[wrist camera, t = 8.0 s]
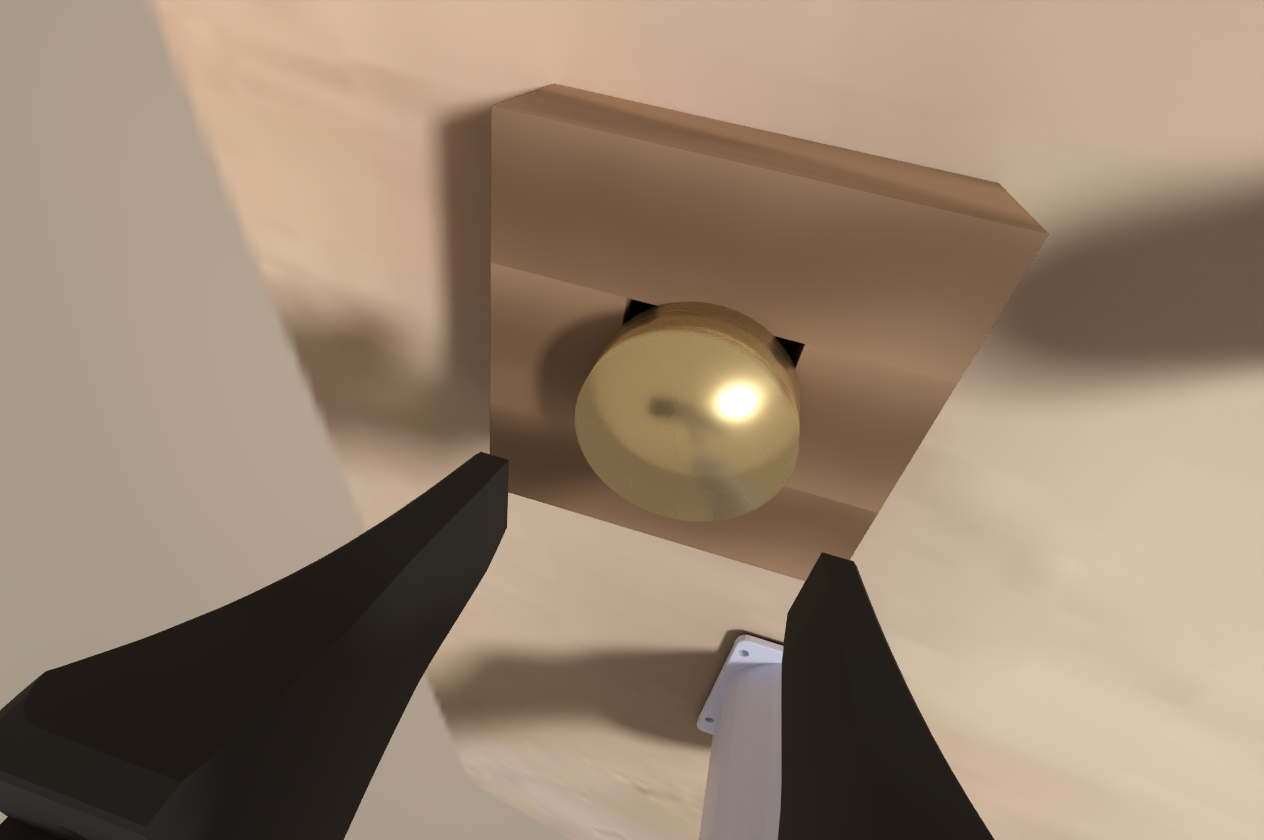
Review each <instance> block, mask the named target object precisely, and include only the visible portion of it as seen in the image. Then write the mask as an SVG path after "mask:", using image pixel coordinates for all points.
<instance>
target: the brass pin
mask: <svg viewBox="0 0 1264 840" xmlns="http://www.w3.org/2000/svg"><path fill="white" fill-rule="evenodd" d="M799 427H800V385H799V379H798V375H797V372H796V369H795V366H794V364H793V362H792V360H791V358H790V356H789V354H788V353H787V351H786V350H785V348H784V347H783V345H782V344H781V343H780V342H779V341H778V340H777V339H776V338H775V336H774V335H773V334H772V333H770V332H769V331H768V330H767V329H766V328H765V327H763V326H762V325H761V324H759V323H758V322H756V321H755V320H753V319H752V318H750V317H748V316H746V315H744V314H742V313H740V312H738V311H735V310H733V309H730V308H727V307H724V306H720V305H716V304H711V303H704V302H675V303H669V304H663V305H660V306H657V307H653V308H650V309H648V310H646V311H644V312H641V313H639V314H638V315H636V316H634V317H633V318H631V319H630V320H628V321H627V322H626V323H625V324H624V325H622V326H621V327H620V328H619V329H618V330H617V331H616V332H615V334H614V335H613V336H612V337H611V339H610V340H609V342H608V343H607V345H606V347H605V348H604V350H603V352H602V353H601V355H600V357H599V359H598V360H597V362H596V364H595V365H594V367H593V369H592V370H591V372H590V374H589V376H588V377H587V379H586V381H585V382H584V384H583V386H582V388H581V391H580V393H579V395H578V399H577V403H576V407H575V428H576V434H577V438H578V442H579V445H580V447H581V450H582V452H583V454H584V456H585V458H586V460H587V461H588V463H589V465H590V466H591V467H592V469H593V470H594V472H595V473H596V474H597V475H598V476H599V477H600V479H601V480H602V481H603V482H604V483H605V484H606V485H607V486H609V487H610V488H611V489H612V490H613V491H614V492H616V493H617V494H618V495H620V496H621V497H623V498H624V499H626V500H627V501H629V502H631V503H632V504H634V505H636V506H638V507H640V508H642V509H645V510H647V511H649V512H652V513H655V514H658V515H661V516H665V517H668V518H673V519H678V520H684V521H697V522H701V521H718V520H725V519H729V518H734V517H737V516H740V515H743V514H746V513H749V512H751V511H753V510H755V509H757V508H759V507H760V506H762V505H763V504H765V503H766V502H768V501H769V500H771V499H772V498H773V497H774V496H775V495H776V494H777V493H778V492H779V491H780V490H781V489H782V488H783V486H784V485H785V484H786V483H787V481H788V479H789V478H790V476H791V474H792V472H793V470H794V467H795V465H796V462H797V457H798V452H799Z"/></svg>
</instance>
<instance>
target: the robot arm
mask: <svg viewBox="0 0 1264 840" xmlns="http://www.w3.org/2000/svg"><path fill="white" fill-rule="evenodd" d="M508 476H509V460H507V459H504V458H500V457H497V456H494V455H490V454H487V453H483V452H480V453H478V454H476V455H475V456H473V457H472V458H471V459H469V460H468V461H467V462H465V463H464V464H463V465H461V466H460V467H459V468H457V469H456V470H455V471H453V472H452V473H451V474H449V475H448V476H447V477H445V478H444V479H443V480H441V481H440V482H439V483H437V484H436V485H434V486H433V487H432V488H430V489H429V490H428V491H426V492H425V493H423V494H422V495H420V496H419V497H418V498H416V499H415V500H413V501H412V502H410V503H409V504H407V505H406V506H405V507H403V508H402V509H400V510H399V511H397V512H396V513H394V514H393V515H391V516H390V517H388V518H387V519H385V520H384V521H382V522H381V523H379V524H377V525H376V526H374V527H373V528H371V529H369V530H368V531H366V532H365V533H363V534H361V535H360V536H358V537H357V538H355V539H353V540H352V541H350V542H349V543H347V544H345V545H344V546H342V547H340V548H338V549H337V550H335V551H333V552H332V553H330V554H328V555H326V556H325V557H323V558H321V559H319V560H318V561H316V562H314V563H312V564H310V565H308V566H306V567H304V568H302V569H300V570H299V571H297V572H295V573H293V574H291V575H289V576H287V577H285V578H283V579H281V580H279V581H277V582H275V583H272V584H271V585H268V586H266V587H265V588H262V589H260V590H258V591H256V592H254V593H252V594H250V595H248V596H245V597H243V598H241V599H239V600H237V601H234V602H232V603H230V604H228V605H225V606H223V607H221V608H219V609H217V610H214V611H211V612H209V613H206V614H204V615H201V616H199V617H196V618H194V619H192V620H189V621H186V622H184V623H182V624H179V625H177V626H174V627H172V628H169V629H167V630H165V631H162V632H159V633H157V634H154V635H151V636H149V637H146V638H144V639H141V640H138V641H135V642H132V643H129V644H127V645H124V646H121V647H118V648H115V649H112V650H109V651H106V652H103V653H100V654H97V655H94V656H91V657H88V658H85V659H83V660H80V661H77V662H74V663H71V664H68V665H65V666H62V667H59V668H55V669H52V670H49V671H46V672H45V673H43V674H42V675H41V676H40V677H38V678H37V679H36V680H35V681H34V682H33V683H31V684H30V685H29V686H28V687H26V688H25V689H24V690H23V691H22V692H20V693H19V694H18V695H17V696H16V697H15V698H14V699H13V700H11V701H10V702H9V703H8V704H7V705H6V706H5V707H4V708H2V709H1V710H0V811H1V812H2V813H4V814H5V815H6V816H8V817H7V818H6V819H5V820H4V821H3V822H2V823H1V824H0V840H344V838H345V835H346V833H347V831H348V829H349V827H350V824H351V822H352V820H353V818H354V816H355V813H356V811H357V809H358V807H359V805H360V803H361V800H362V798H363V796H364V794H365V791H366V789H367V787H368V785H369V783H370V780H371V778H372V776H373V774H374V772H375V770H376V768H377V766H378V764H379V762H380V760H381V758H382V756H383V754H384V751H385V749H386V747H387V745H388V743H389V741H390V739H391V737H392V735H393V733H394V730H395V729H396V726H397V724H398V723H399V721H400V718H401V717H402V714H403V712H404V710H405V708H406V706H407V704H408V702H409V700H410V698H411V696H412V694H413V692H414V690H415V688H416V686H417V685H418V683H419V681H420V679H421V678H422V676H423V674H424V672H425V670H426V669H427V667H428V665H429V663H430V662H431V660H432V659H433V657H434V655H435V654H436V652H437V651H438V649H439V647H440V646H441V644H442V643H443V641H444V639H445V638H446V636H447V634H448V633H449V631H450V630H451V628H452V626H453V625H454V623H455V622H456V620H457V618H458V617H459V615H460V614H461V612H462V610H463V609H464V607H465V606H466V604H467V602H468V601H469V599H470V597H471V596H472V594H473V592H474V591H475V589H476V588H477V586H478V584H479V583H480V581H481V579H482V578H483V576H484V574H485V573H486V571H487V569H488V567H489V565H490V563H491V561H492V559H493V556H494V554H495V552H496V550H497V548H498V546H499V544H500V541H501V539H502V537H503V535H504V533H505V530H506V528H507V508H508ZM697 728H698V729H699V730H701V731H703V732H706V733H709V734H712V735H713V739H712V746H711V754H710V761H709V769H708V776H707V784H706V791H705V799H704V806H703V813H702V821H701V828H700V836H699V840H994V838H993V837H992V835H991V834H990V832H989V830H988V829H987V827H986V826H985V824H984V822H983V821H982V819H981V818H980V816H979V815H978V813H977V811H976V810H975V808H974V807H973V805H972V803H971V802H970V800H969V799H968V797H967V795H966V794H965V792H964V790H963V788H962V787H961V785H960V783H959V782H958V780H957V778H956V777H955V775H954V773H953V772H952V770H951V768H950V766H949V765H948V763H947V761H946V759H945V758H944V756H943V754H942V752H941V750H940V749H939V747H938V745H937V743H936V741H935V739H934V738H933V736H932V734H931V732H930V730H929V728H928V726H927V724H926V722H925V720H924V718H923V716H922V714H921V713H920V711H919V709H918V707H917V705H916V703H915V701H914V699H913V697H912V695H911V693H910V691H909V688H908V686H907V684H906V682H905V680H904V678H903V676H902V674H901V671H900V669H899V667H898V665H897V663H896V660H895V658H894V656H893V654H892V652H891V650H890V647H889V645H888V643H887V640H886V638H885V636H884V634H883V631H882V629H881V626H880V624H879V622H878V619H877V617H876V614H875V612H874V609H873V607H872V605H871V602H870V600H869V597H868V594H867V592H866V589H865V587H864V584H863V582H862V579H861V577H860V574H859V571H858V569H857V566H856V565H855V563H854V561H851V560H847V559H844V558H840V557H837V556H834V555H830V554H827V553H823V552H822V553H821V554H820V556H819V558H818V560H817V562H816V563H815V565H814V567H813V569H812V571H811V572H810V574H809V576H808V578H807V580H806V581H805V583H804V585H803V587H802V589H801V590H800V592H799V594H798V596H797V597H796V599H795V601H794V603H793V605H792V606H791V608H790V610H789V612H788V615H787V622H786V630H785V638H784V646H782V645H779V644H776V643H773V642H769V641H766V640H763V639H760V638H757V637H753V636H750V635H741V636H739V637H738V638H737V639H736V641H735V643H734V645H733V647H732V649H731V651H730V653H729V655H728V658H727V660H726V662H725V664H724V666H723V668H722V670H721V672H720V674H719V676H718V678H717V680H716V682H715V684H714V686H713V688H712V691H711V693H710V695H709V697H708V699H707V701H706V703H705V705H704V707H703V709H702V711H701V713H700V715H699V717H698V719H697Z"/></svg>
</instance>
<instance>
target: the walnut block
mask: <svg viewBox="0 0 1264 840" xmlns="http://www.w3.org/2000/svg"><path fill="white" fill-rule="evenodd" d="M1047 236H1048V233H1047V232H1046V231H1045V230H1044V229H1043V228H1042V227H1041V226H1040V225H1039V224H1038V223H1037V221H1036V220H1035V219H1034V218H1033V217H1032V216H1031V215H1030V214H1029V213H1028V212H1027V211H1026V210H1025V209H1024V208H1023V207H1022V206H1021V205H1020V204H1019V203H1018V202H1017V201H1016V200H1015V199H1014V198H1013V197H1012V196H1011V195H1010V194H1009V193H1008V192H1007V191H1006V190H1005V189H1004V188H1003V187H1002V186H1001V185H1000V184H999V183H996V182H991V181H987V180H982V179H978V178H973V177H969V176H964V175H960V174H955V173H951V172H946V171H942V170H937V169H933V168H928V167H924V166H919V165H915V164H911V163H906V162H902V161H897V160H893V159H888V158H884V157H879V156H875V155H870V154H866V153H861V152H857V151H852V150H848V149H843V148H839V147H834V146H830V145H826V144H821V143H817V142H812V141H808V140H803V139H799V138H794V137H790V136H785V135H781V134H776V133H772V132H767V131H763V130H758V129H754V128H749V127H745V126H741V125H736V124H732V123H727V122H723V121H718V120H714V119H709V118H705V117H700V116H696V115H691V114H687V113H682V112H678V111H673V110H669V109H665V108H660V107H656V106H651V105H647V104H642V103H638V102H633V101H629V100H624V99H620V98H615V97H611V96H606V95H602V94H597V93H593V92H588V91H584V90H580V89H575V88H571V87H566V86H562V85H557V84H552V85H549V86H546V87H544V88H541V89H538V90H535V91H532V92H529V93H526V94H523V95H521V96H518V97H515V98H512V99H509V100H506V101H503V102H501V103H498V104H495V105H492V106H491V323H490V455H494V456H497V457H500V458H504V459H507V460H509V476H508V492H509V493H513V494H516V495H519V496H523V497H526V498H529V499H533V500H536V501H539V502H543V503H546V504H549V505H553V506H556V507H559V508H563V509H566V510H569V511H573V512H576V513H579V514H583V515H586V516H589V517H593V518H596V519H599V520H603V521H606V522H609V523H613V524H616V525H619V526H623V527H626V528H629V529H633V530H636V531H639V532H643V533H646V534H649V535H653V536H656V537H659V538H663V539H666V540H669V541H673V542H676V543H679V544H683V545H686V546H689V547H693V548H696V549H699V550H703V551H706V552H709V553H713V554H716V555H719V556H723V557H726V558H729V559H733V560H736V561H739V562H743V563H746V564H749V565H753V566H756V567H759V568H763V569H766V570H769V571H773V572H776V573H779V574H783V575H786V576H789V577H793V578H796V579H799V580H803V581H806V580H807V578H808V576H809V574H810V572H811V571H812V569H813V567H814V565H815V563H816V562H817V560H818V558H819V556H820V554H821V553H822V552H823V553H827V554H830V555H834V556H837V557H840V558H844V559H847V560H850V558H851V557H852V555H853V553H854V552H855V550H856V548H857V547H858V545H859V544H860V542H861V540H862V539H863V537H864V535H865V534H866V532H867V530H868V529H869V527H870V526H871V524H872V522H873V521H874V519H875V517H876V516H877V514H878V512H879V511H880V509H881V508H882V506H883V504H884V503H885V501H886V499H887V498H888V496H889V494H890V493H891V491H892V490H893V488H894V486H895V485H896V483H897V481H898V480H899V478H900V476H901V475H902V473H903V472H904V470H905V468H906V467H907V465H908V463H909V462H910V460H911V458H912V457H913V455H914V454H915V452H916V450H917V449H918V447H919V445H920V444H921V442H922V440H923V439H924V437H925V436H926V434H927V432H928V431H929V429H930V427H931V426H932V424H933V422H934V421H935V419H936V418H937V416H938V414H939V413H940V411H941V409H942V408H943V406H944V404H945V403H946V401H947V400H948V398H949V396H950V395H951V393H952V391H953V390H954V388H955V386H956V385H957V383H958V382H959V380H960V378H961V377H962V375H963V373H964V372H965V370H966V369H967V367H968V365H969V364H970V362H971V360H972V359H973V357H974V355H975V354H976V352H977V351H978V349H979V347H980V346H981V344H982V342H983V341H984V339H985V337H986V336H987V334H988V333H989V331H990V329H991V328H992V326H993V324H994V323H995V321H996V319H997V318H998V316H999V315H1000V313H1001V311H1002V310H1003V308H1004V306H1005V305H1006V303H1007V301H1008V300H1009V298H1010V297H1011V295H1012V293H1013V292H1014V290H1015V288H1016V287H1017V285H1018V283H1019V282H1020V280H1021V279H1022V277H1023V275H1024V274H1025V272H1026V270H1027V269H1028V267H1029V265H1030V264H1031V262H1032V261H1033V259H1034V257H1035V256H1036V254H1037V252H1038V251H1039V249H1040V247H1041V246H1042V244H1043V243H1044V241H1045V239H1046V238H1047ZM675 302H704V303H711V304H716V305H720V306H724V307H727V308H730V309H733V310H735V311H738V312H740V313H742V314H744V315H746V316H748V317H750V318H752V319H753V320H755V321H756V322H758V323H759V324H761V325H762V326H763V327H765V328H766V329H767V330H768V331H769V332H770V333H772V334H773V335H774V336H776V337H780V338H784V339H785V341H784V344H783V347H784V348H785V350H786V351H787V353H788V354H789V356H790V358H791V360H792V362H793V364H794V366H795V369H796V372H797V375H798V379H799V385H800V427H799V452H798V457H797V462H796V465H795V467H794V470H793V472H792V474H791V476H790V478H789V479H788V481H787V483H786V484H785V485H784V486H783V488H782V489H781V490H780V491H779V492H778V493H777V494H776V495H775V496H774V497H773V498H772V499H771V500H769V501H768V502H766V503H765V504H763V505H762V506H760V507H759V508H757V509H755V510H753V511H751V512H749V513H746V514H743V515H740V516H737V517H734V518H729V519H725V520H718V521H701V522H697V521H684V520H678V519H673V518H668V517H665V516H661V515H658V514H655V513H652V512H649V511H647V510H645V509H642V508H640V507H638V506H636V505H634V504H632V503H631V502H629V501H627V500H626V499H624V498H623V497H621V496H620V495H618V494H617V493H616V492H614V491H613V490H612V489H611V488H610V487H609V486H607V485H606V484H605V483H604V482H603V481H602V480H601V479H600V477H599V476H598V475H597V474H596V473H595V472H594V470H593V469H592V467H591V466H590V465H589V463H588V461H587V460H586V458H585V456H584V454H583V452H582V450H581V447H580V445H579V442H578V438H577V434H576V428H575V407H576V403H577V399H578V395H579V393H580V391H581V388H582V386H583V384H584V382H585V381H586V379H587V377H588V376H589V374H590V372H591V370H592V369H593V367H594V365H595V364H596V362H597V360H598V359H599V357H600V355H601V353H602V352H603V350H604V348H605V347H606V345H607V343H608V342H609V340H610V339H611V337H612V336H613V335H614V334H615V332H616V331H617V330H618V329H619V328H620V327H621V326H622V325H624V324H625V323H626V322H627V321H628V320H630V319H631V318H633V317H634V316H636V315H638V314H639V313H641V312H644V311H646V310H647V305H648V303H649V304H653V305H656V306H660V305H663V304H669V303H675Z"/></svg>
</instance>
